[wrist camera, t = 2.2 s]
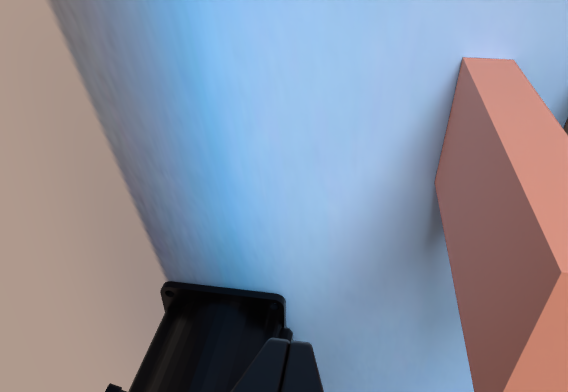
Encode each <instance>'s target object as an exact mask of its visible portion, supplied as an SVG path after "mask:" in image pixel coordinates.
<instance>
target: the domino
mask: <svg viewBox="0 0 568 392" xmlns="http://www.w3.org/2000/svg"><path fill="white" fill-rule="evenodd" d="M435 187H436V193H437V198H438V203H439V208H440V214H441V219H442V224H443V229H444V235H445V240H446V245H447V250H448V256H449V261H450V266H451V272H452V277H453V282H454V287H455V293H456V298H457V303H458V308H459V314H460V319H461V324H462V329H463V335H464V340H465V345H466V350H467V356H468V361H469V366H470V372H471V377H472V382H473V387H474V392H568V135H567V134H566V132H565V131H564V130H563V128H562V127H561V125H560V124H559V123H558V121H557V120H556V118H555V117H554V116H553V114H552V113H551V111H550V110H549V109H548V107H547V106H546V104H545V103H544V102H543V100H542V99H541V97H540V96H539V95H538V93H537V92H536V90H535V89H534V88H533V86H532V85H531V83H530V82H529V81H528V79H527V78H526V76H525V75H524V74H523V72H522V71H521V69H520V68H519V67H518V65H517V64H516V62H515V61H514V60H508V59H486V58H465V57H463V59H462V63H461V68H460V72H459V76H458V81H457V85H456V90H455V94H454V99H453V103H452V107H451V112H450V116H449V121H448V125H447V130H446V134H445V138H444V143H443V147H442V152H441V156H440V161H439V165H438V169H437V174H436V178H435Z"/></svg>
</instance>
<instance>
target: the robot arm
mask: <svg viewBox="0 0 568 392" xmlns="http://www.w3.org/2000/svg"><path fill="white" fill-rule="evenodd" d="M161 297H162V301H163V305H164V310H165V314H164V316H163V319H162V321H161V323H160V325H159V327H158V329H157V331H156V334H155V336H154V338H153V340H152V342H151V345H150V346H149V349H148V351H147V353H146V355H145V357H144V359H143V362H142V364H141V366H140V368H139V370H138V372H137V374H136V377H135V379H134V381H133V383H132V385H131V387H130V389H129V392H324V391H323V387H322V383H321V379H320V375H319V371H318V367H317V363H316V359H315V356H314V352H313V348H312V345H311V344H310V343H308V342H301V341H293V332H292V331H291V330H290V328H286V302H285V299H284V298H283V296H281V295H279V294H274V293H265V292H256V291H248V290H239V289H231V288H222V287H214V286H205V285H197V284H188V283H180V282H171V281H169V282H165V283H164V285H163V287H162V289H161ZM274 303H276V304H274ZM121 389H122V387H119V386H116V385H113V384H111V383H110V384H109V386H108V387H107V389H106V391H105V392H126V391H123V390H121Z"/></svg>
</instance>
